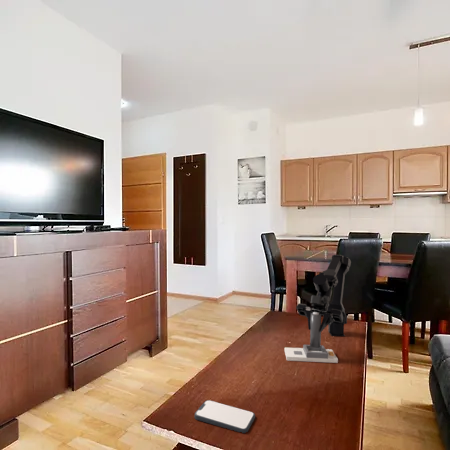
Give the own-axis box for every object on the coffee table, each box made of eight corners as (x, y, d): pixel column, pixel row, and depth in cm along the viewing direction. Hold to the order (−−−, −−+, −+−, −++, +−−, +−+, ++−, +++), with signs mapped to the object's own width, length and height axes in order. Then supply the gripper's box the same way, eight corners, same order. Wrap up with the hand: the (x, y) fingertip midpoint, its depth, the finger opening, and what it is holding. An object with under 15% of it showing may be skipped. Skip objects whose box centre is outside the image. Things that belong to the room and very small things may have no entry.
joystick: (312, 342, 135) (312, 310, 135) (322, 345, 133) (322, 312, 133) (308, 346, 132) (309, 313, 131) (318, 348, 129) (319, 314, 129)
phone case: (256, 417, 92) (206, 403, 99) (256, 412, 92) (206, 398, 98) (246, 437, 84) (192, 420, 90) (246, 430, 84) (192, 414, 90)
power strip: (331, 352, 137) (331, 344, 137) (337, 362, 127) (337, 354, 127) (284, 350, 139) (284, 342, 138) (286, 360, 129) (287, 351, 129)
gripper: (298, 285, 140) (287, 316, 131) (342, 290, 130) (334, 324, 121) (304, 299, 147) (294, 329, 138) (346, 305, 137) (339, 339, 128)
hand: (314, 330), depth 131 cm, fingers closed on joystick, 4 cm apart
